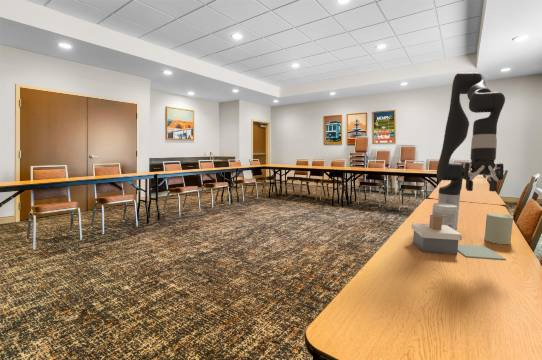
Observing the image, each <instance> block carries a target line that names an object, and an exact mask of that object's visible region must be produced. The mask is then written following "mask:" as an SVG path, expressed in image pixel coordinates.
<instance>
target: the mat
mask: <svg viewBox="0 0 542 360" xmlns="http://www.w3.org/2000/svg"><path fill="white" fill-rule="evenodd" d="M457 253H460V254H461V255H462V256H464V257H465V258H477V259H489V260H501V261H503V260H504V261H506V260H507V259H506V257H503V256H501V255H500V254H499V253H497V252H495V251H493V250H492V249H490V248H488V247H487V246H485V245H473V244H472V245H471V244H462V243H461V244H459V243H458V251H457Z"/></svg>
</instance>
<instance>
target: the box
mask: <svg viewBox="0 0 542 360" xmlns="http://www.w3.org/2000/svg"><path fill="white" fill-rule="evenodd" d="M412 237H413V238H412V242H413V244H414V245H415V246H416V247H417V249H419V250H420V251H421V252H422V253H430V254H431V253H432V254H434V253H435V254H446V255H458V244H459V240H450V239H435V238H422V237H421V236H420V235H419V234H418V233H416V232H415V231H414V230H413V236H412Z"/></svg>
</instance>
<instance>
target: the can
mask: <svg viewBox="0 0 542 360" xmlns="http://www.w3.org/2000/svg"><path fill="white" fill-rule="evenodd" d="M513 222H514V216H513V215H510V214H509V215H508V214H504V213H499V212H498V213H497V212H491V213H490V212H489V213H486V219H485V229H484V238H483V240H484V241H485V240H486V242H488V241H489V242H488V243H491V242H492V244H495V243H497V245H502V244H509V245H511V244H512V233H513V232H512V231H513ZM510 243H511V244H510Z"/></svg>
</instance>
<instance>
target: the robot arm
mask: <svg viewBox="0 0 542 360" xmlns="http://www.w3.org/2000/svg"><path fill="white" fill-rule="evenodd" d="M451 87H452V88H451V93H450V94H451V95H450V102H449V103H450V104H449V111H448V115H447V120H446V125H445V130H444V136H443V143H442V147H441V152H440V156H439V160H438V163H437V168H436V177H437V179H438V180H440V181H450V182H449V183H448V184H447V185H444V186H440V187H439V189H438V195H437V197H438V199H437V203H446V204H453V205H456V206H457V219H456V229H458V222H459V210H460V201H461V190H462V187H463V180H465V189H466V191H468V192H473V189H474V181H473V180H474V179H475V178H476V177H477V176H479V175H480V176H486V177H487V178H488V179H489V187H488V188H489V189H488V191H489V192H496V190H497V189H498V182H499V181H503V179H504V163H496V162H495V160H496V158H497V145H498V144H497V143H498V139H497V134H498V133H497V132H498V131H497V129H498V123H499V122H498V121H499V117H500V116H501V112H502V111H503V108H504V105H505V103H506V97H505V95H504V93H502V92H499V91H493V92H492V90H491V89H490V88H489V87H488V86H487V85H486V81H485V78H484V75H483V74H482V73H480V72H459V73H457V74H455V76H454V77H453V81H452V85H451ZM461 95H467V99H468V100H469V102H468V109H469V110H470V112H471V113H476V114H479V113H489V115H488V116H487V117H483V118H478V119H475V120H474V121H473V125H472V138H471V142H470V143H471V145H470V157H469V158H470V163H469V162H462V163H461V162H453V161H451V162H450V160H451V157H452V155H453V154H454V152H455V151H456V150H457V149H458V148H459V147H460V145H462V144H463V143H464V142H465V140H466V138H467V136H468V132H469V128H470V122H469V119H468V116H467V115H466V113H465V111H464V109H463V107H462V103H461V99H460V97H461ZM470 169H471V170H470Z"/></svg>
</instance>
